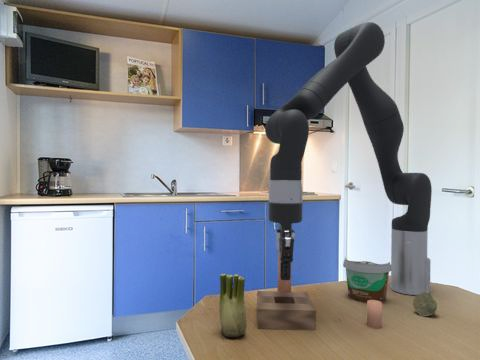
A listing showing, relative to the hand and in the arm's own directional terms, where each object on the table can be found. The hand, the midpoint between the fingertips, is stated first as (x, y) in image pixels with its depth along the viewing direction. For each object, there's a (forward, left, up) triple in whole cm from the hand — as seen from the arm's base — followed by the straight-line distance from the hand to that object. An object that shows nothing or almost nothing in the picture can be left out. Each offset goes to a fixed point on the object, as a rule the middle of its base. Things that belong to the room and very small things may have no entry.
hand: (284, 277), depth 80 cm
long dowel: (0, 0, -3) cm, 3 cm away
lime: (-33, -4, -9) cm, 35 cm away
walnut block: (0, 0, -9) cm, 9 cm away
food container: (-22, -13, -9) cm, 27 cm away
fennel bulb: (+11, +9, -9) cm, 17 cm away
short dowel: (-19, +3, -9) cm, 21 cm away
